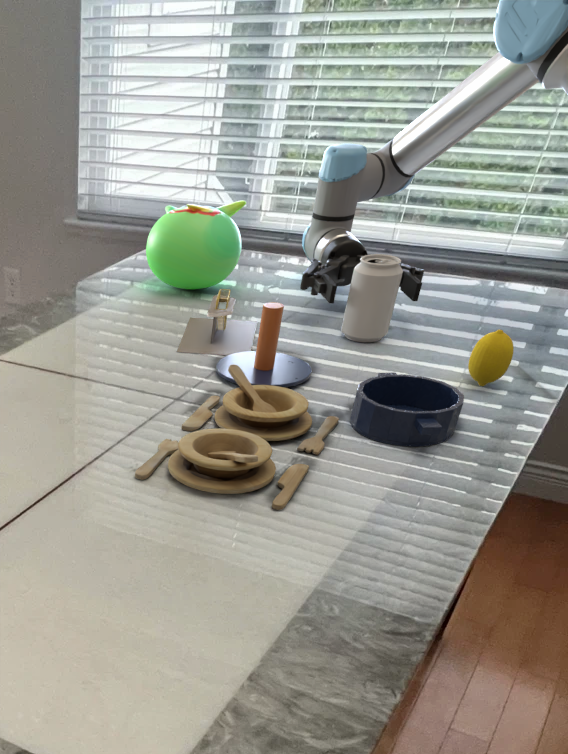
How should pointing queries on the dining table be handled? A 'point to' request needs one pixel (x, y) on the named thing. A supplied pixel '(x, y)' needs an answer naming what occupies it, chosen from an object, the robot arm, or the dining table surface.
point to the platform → (218, 331)
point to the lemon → (491, 357)
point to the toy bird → (194, 245)
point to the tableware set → (241, 441)
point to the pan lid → (267, 356)
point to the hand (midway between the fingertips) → (375, 293)
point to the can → (372, 297)
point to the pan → (406, 409)
